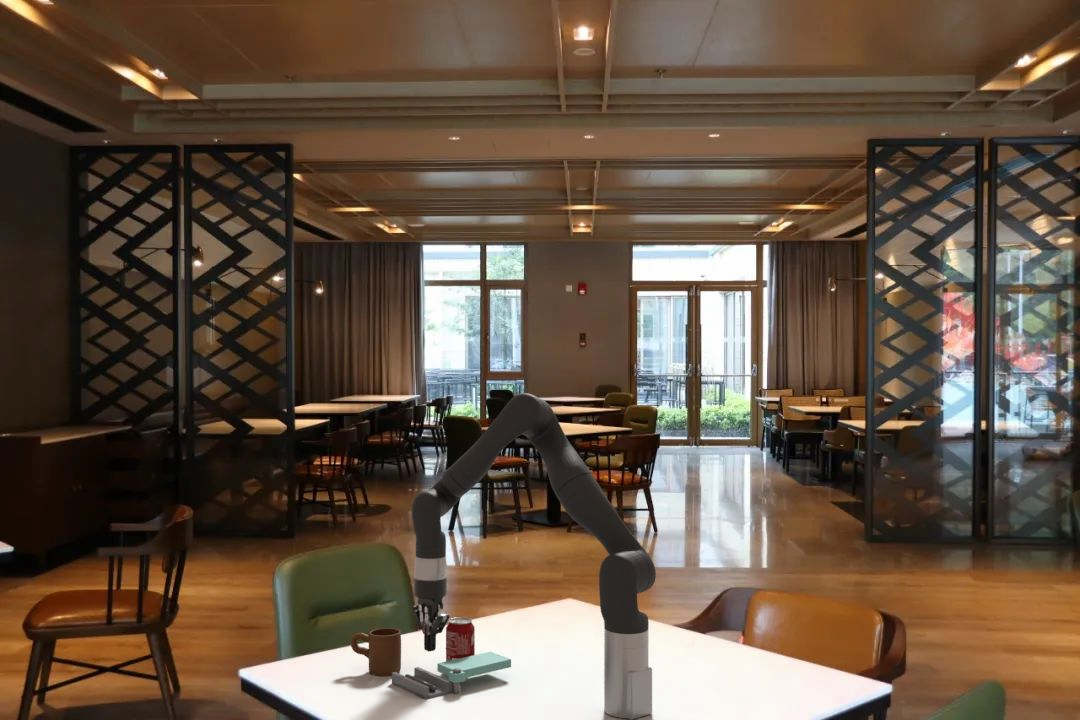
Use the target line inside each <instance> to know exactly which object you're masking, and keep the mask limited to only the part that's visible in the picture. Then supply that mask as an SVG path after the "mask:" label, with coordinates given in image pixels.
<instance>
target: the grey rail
mask: <svg viewBox="0 0 1080 720" xmlns="http://www.w3.org/2000/svg"><path fill="white" fill-rule="evenodd" d="M413 673H414V675H411V674H409V673H407V674H405V675H403V674H401V673H400V672H398V673H397V672H393V673H392V675H391V684H392V685H394V686H396V687H398V688H401V689H403V690H405V691H407V692H409V693H411V694H413V695H416V696H417V697H420V698H422V699H423V700H427V699H432V698H435V697H441V696H445V695H449V694H451V693H453V694H457V695H458V694H460V693H461V682H458V683H454V682H452V681H449V679H447V678H444V677H442V676H440V675H438V674H436V673H433V672H430V671H429V670H426V669H424V668H422V667H420V666H417V667H414V670H413Z"/></svg>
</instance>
